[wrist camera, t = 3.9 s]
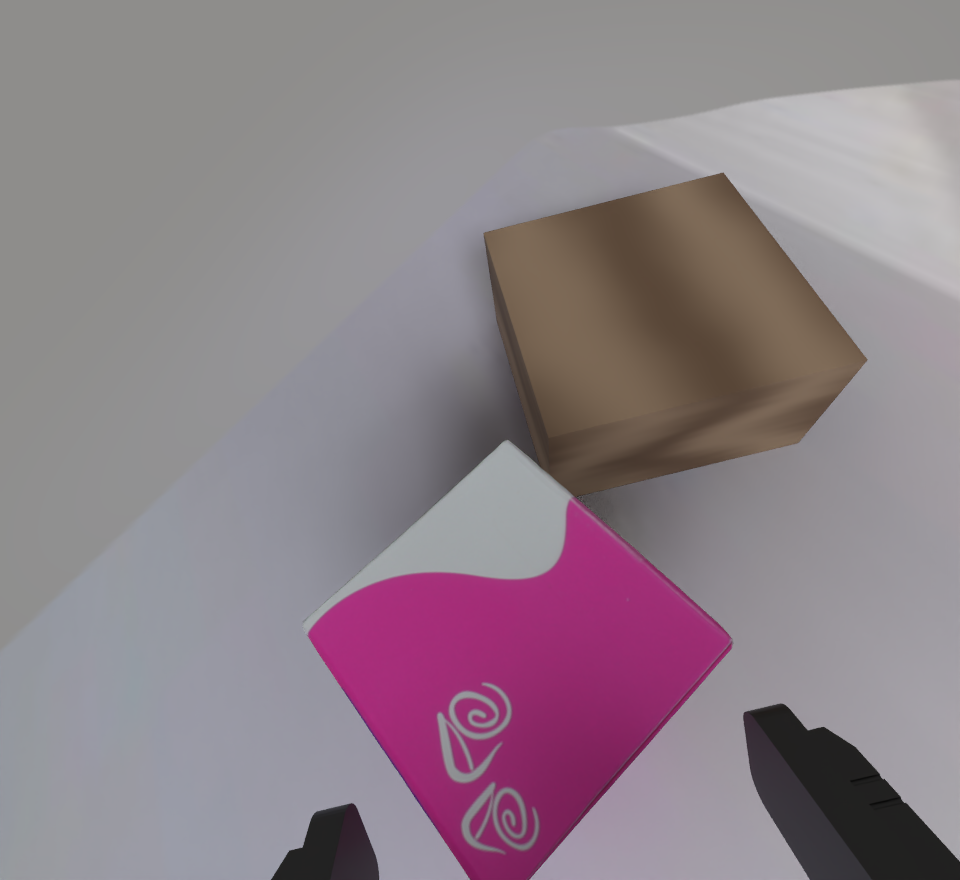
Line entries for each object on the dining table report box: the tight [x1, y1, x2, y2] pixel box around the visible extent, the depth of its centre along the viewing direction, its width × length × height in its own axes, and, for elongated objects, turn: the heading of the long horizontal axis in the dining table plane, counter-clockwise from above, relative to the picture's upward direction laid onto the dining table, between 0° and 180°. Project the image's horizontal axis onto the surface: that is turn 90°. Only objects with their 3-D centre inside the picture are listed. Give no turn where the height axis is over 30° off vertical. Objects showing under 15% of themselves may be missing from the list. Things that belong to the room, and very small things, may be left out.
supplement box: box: [303, 440, 733, 880], centre depth 14 cm, size 6×6×12 cm
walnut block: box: [484, 173, 867, 497], centre depth 23 cm, size 11×11×6 cm
